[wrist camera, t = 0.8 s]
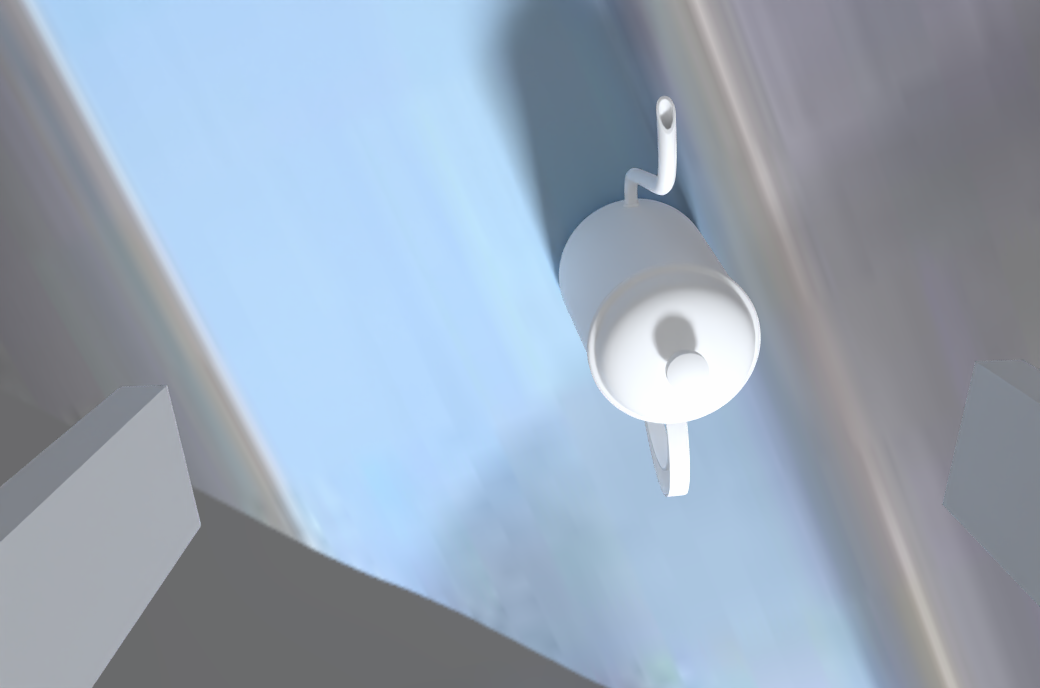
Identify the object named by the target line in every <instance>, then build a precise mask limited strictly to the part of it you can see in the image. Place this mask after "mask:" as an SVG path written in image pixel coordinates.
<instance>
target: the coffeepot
mask: <svg viewBox="0 0 1040 688" xmlns="http://www.w3.org/2000/svg"><path fill="white" fill-rule="evenodd" d="M656 112H657V134H658V175H654V174H652V173H649V172H647V171H644V170H642V169H639V168H631V169H630V170H629V171H628V172H627V174H626V176H625V184H624V196H625V200H621V201H617V202H613V203H611V204H608V205H606V206H603V207H602V208H600V209H598V210H596V211H595V212H593V213H592V214H590V215H589V216H588V217H587V218H585V219H584V220H583V221H582V222H581V223H580V224H579V225H578V226H577V228H576V229H575V230H574V231H573V233H572V234H571V236H570V237H569V239H568V241H567V243H566V245H565V248H564V250H563V253H562V256H561V261H560V266H559V285H560V290H561V295H562V298H563V301H564V303H565V305H566V308H567V310H568V312H569V314H570V316H571V319H572V321H573V323H574V325H575V327H576V330H577V332H578V334H579V336H580V338H581V341H582V343H583V345H584V347H585V349H586V352H587V356H588V362H589V367H590V370H591V374H592V376H593V379H594V381H595V383H596V385H597V386H598V388H599V389H600V391H601V392H602V394H603V395H604V396H605V397H606V398H607V399H608V400H609V401H610V402H611V403H612V404H613V405H614V406H616V407H617V408H618V409H620V410H621V411H623V412H624V413H626V414H628V415H630V416H632V417H635V418H637V419H640V420H644V421H645V426H646V431H647V436H648V441H649V446H650V451H651V455H652V459H653V463H654V468H655V471H656V475H657V478H658V482H659V484H660V487H661V490H662V492H663V494H664V495H665V496H666V497H670V496H679V495H685V494H687V492H688V489H689V481H690V455H689V438H688V427H687V421H691V420H695V419H698V418H701V417H703V416H706V415H708V414H710V413H712V412H714V411H716V410H717V409H719V408H720V407H722V406H723V405H725V404H726V403H727V402H729V401H730V400H731V399H732V398H733V397H734V396H735V395H736V394H737V393H738V392H739V391H740V390H741V389H742V387H743V386H744V385H745V383H746V382H747V380H748V379H749V377H750V375H751V373H752V372H753V369H754V367H755V365H756V362H757V359H758V355H759V350H760V342H761V333H760V324H759V319H758V316H757V313H756V310H755V308H754V305H753V304H752V302H751V300H750V298H749V297H748V295H747V294H746V293H745V291H744V290H743V289H742V288H741V287H740V286H739V285H738V284H737V283H736V282H735V281H734V280H733V279H731V278H730V277H729V276H728V274H727V273H726V271H725V270H724V268H723V267H722V265H721V264H720V262H719V261H718V259H717V257H716V256H715V254H714V253H713V251H712V250H711V248H710V247H709V245H708V244H707V242H706V241H705V239H704V238H703V236H702V235H701V233H700V232H699V230H698V229H697V227H696V226H695V225H694V224H693V222H692V221H691V220H690V219H689V218H688V217H686V216H685V215H684V214H683V213H681V212H680V211H679V210H677V209H675V208H674V207H672V206H670V205H667V204H665V203H662V202H659V201H655V200H650V199H637V184H639V185H640V186H642V187H644V188H646V189H648V190H650V191H651V192H653V193H656V194H658V195H665V194H667V193H668V192H669V191H670V190H671V189H672V187H673V185H674V182H675V177H676V165H677V141H676V110H675V107H674V103H673V102H672V100H671V99H670V98H669V97H667V96H662V97H660V98H659V100H658V101H657V105H656ZM664 424H666V430H665V426H664ZM666 432H667V433H666Z"/></svg>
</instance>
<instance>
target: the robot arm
mask: <svg viewBox="0 0 1040 688" xmlns="http://www.w3.org/2000/svg"><path fill="white" fill-rule="evenodd" d="M942 505H943V506H944V507H945V508H946V509H947V510H948V511H949V512H950V513H951V514H952V515H953V516H954V517H955V518H956V519H957V520H958V521H959V522H960V524H961V525H962V526H963V527H964V528H965V529H966V530H967V531H968V532H969V533H970V534H971V535H972V536H973V537H974V538H975V539H976V540H977V541H978V542H979V544H980V545H981V546H982V547H983V548H984V549H985V550H986V551H987V552H988V553H989V554H990V555H991V556H992V557H993V558H994V559H995V560H996V561H997V562H998V563H999V565H1000V566H1001V567H1002V568H1003V569H1004V570H1005V571H1006V572H1007V573H1008V574H1009V575H1010V576H1011V577H1012V578H1013V579H1014V580H1015V581H1016V582H1017V583H1018V585H1019V586H1020V587H1021V588H1022V589H1023V590H1024V591H1025V592H1026V593H1027V594H1028V595H1029V596H1030V597H1031V598H1032V599H1033V600H1034V601H1035V602H1036V603H1037V605H1038V606H1039V607H1040V370H1039V369H1038V368H1036V367H1034V366H1033V365H1031V364H1029V363H1028V362H1026V361H1024V360H996V361H975V365H974V369H973V374H972V378H971V382H970V387H969V391H968V395H967V400H966V404H965V408H964V413H963V417H962V421H961V426H960V430H959V435H958V439H957V443H956V448H955V452H954V456H953V461H952V465H951V469H950V474H949V478H948V482H947V487H946V491H945V495H944V500H943V504H942ZM200 526H201V523H200V519H199V515H198V511H197V507H196V503H195V498H194V494H193V490H192V486H191V482H190V478H189V474H188V469H187V465H186V461H185V457H184V453H183V449H182V445H181V440H180V436H179V432H178V428H177V424H176V420H175V415H174V411H173V407H172V403H171V399H170V395H169V391H168V386H167V385H158V386H124V387H119V388H118V389H117V390H116V391H115V392H113V393H112V394H111V395H110V396H109V397H107V398H106V399H105V400H104V401H103V402H101V403H100V404H99V405H98V406H97V407H95V408H94V409H93V410H92V411H91V412H89V413H88V414H87V415H86V416H85V417H83V418H82V419H81V420H80V421H79V422H77V423H76V424H75V425H74V426H73V427H71V428H70V429H69V430H68V431H67V432H65V433H64V434H63V435H62V436H61V437H59V438H58V439H57V440H56V441H55V442H53V443H52V444H51V445H50V446H49V447H48V448H46V449H45V450H44V451H43V452H41V453H40V454H39V455H38V456H37V457H35V458H34V459H33V460H32V461H31V462H30V463H28V464H27V465H26V466H25V467H23V468H22V469H21V470H20V471H19V472H17V473H16V474H15V475H14V476H13V477H11V478H10V479H9V480H8V481H7V482H6V483H4V484H3V485H2V486H1V487H0V688H92V687H93V685H94V684H95V682H96V681H97V679H98V678H99V676H100V674H101V673H102V672H103V670H104V669H105V667H106V666H107V664H108V663H109V661H110V660H111V658H112V657H113V655H114V654H115V653H116V651H117V650H118V648H119V646H120V645H121V644H122V642H123V641H124V639H125V638H126V636H127V634H128V633H129V632H130V630H131V629H132V627H133V626H134V624H135V623H136V621H137V620H138V618H139V617H140V615H141V614H142V612H143V611H144V609H145V608H146V606H147V605H148V603H149V602H150V601H151V599H152V597H153V596H154V595H155V593H156V592H157V590H158V589H159V587H160V586H161V584H162V583H163V581H164V580H165V578H166V577H167V575H168V574H169V572H170V571H171V569H172V568H173V566H174V565H175V563H176V562H177V560H178V559H179V557H180V556H181V554H182V553H183V551H184V550H185V548H186V547H187V546H188V544H189V542H190V541H191V540H192V538H193V536H194V535H195V534H196V532H197V531H198V529H199V528H200Z"/></svg>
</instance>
